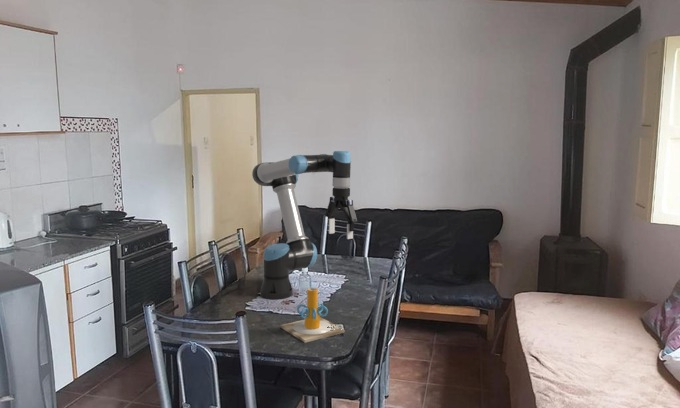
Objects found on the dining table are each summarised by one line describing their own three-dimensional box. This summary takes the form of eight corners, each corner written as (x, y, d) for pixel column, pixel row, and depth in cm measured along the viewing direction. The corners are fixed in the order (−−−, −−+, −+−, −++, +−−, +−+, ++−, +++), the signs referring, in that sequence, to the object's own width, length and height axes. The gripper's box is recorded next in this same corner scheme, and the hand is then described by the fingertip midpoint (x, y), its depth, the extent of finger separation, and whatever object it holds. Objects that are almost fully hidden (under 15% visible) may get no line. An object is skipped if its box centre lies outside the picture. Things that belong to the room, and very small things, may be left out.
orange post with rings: (313, 319, 214) (313, 283, 212) (332, 325, 207) (333, 288, 205) (291, 327, 205) (291, 289, 203) (310, 334, 198) (310, 295, 196)
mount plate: (280, 327, 208) (280, 324, 208) (319, 318, 218) (319, 315, 218) (304, 342, 194) (304, 339, 193) (344, 332, 204) (344, 329, 204)
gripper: (366, 189, 219) (365, 240, 222) (331, 184, 239) (331, 230, 242) (351, 190, 215) (350, 242, 218) (318, 184, 235) (317, 231, 238)
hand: (340, 236), depth 230 cm, fingers open, 13 cm apart
